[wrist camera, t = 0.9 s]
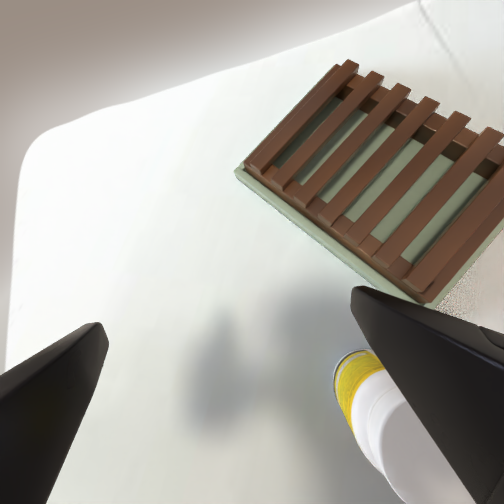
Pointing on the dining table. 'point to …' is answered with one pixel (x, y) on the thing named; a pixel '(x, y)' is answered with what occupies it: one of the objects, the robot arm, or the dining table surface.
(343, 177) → the drip tray
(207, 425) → the dining table surface
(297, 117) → the drying rack
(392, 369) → the robot arm
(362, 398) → the supplement bottle
